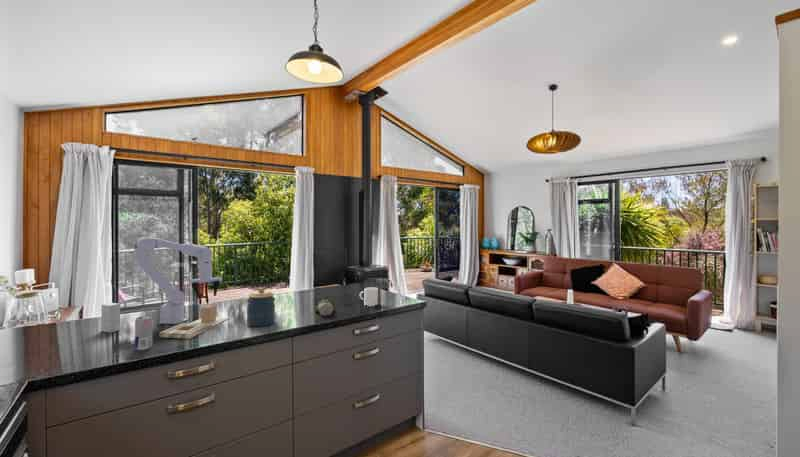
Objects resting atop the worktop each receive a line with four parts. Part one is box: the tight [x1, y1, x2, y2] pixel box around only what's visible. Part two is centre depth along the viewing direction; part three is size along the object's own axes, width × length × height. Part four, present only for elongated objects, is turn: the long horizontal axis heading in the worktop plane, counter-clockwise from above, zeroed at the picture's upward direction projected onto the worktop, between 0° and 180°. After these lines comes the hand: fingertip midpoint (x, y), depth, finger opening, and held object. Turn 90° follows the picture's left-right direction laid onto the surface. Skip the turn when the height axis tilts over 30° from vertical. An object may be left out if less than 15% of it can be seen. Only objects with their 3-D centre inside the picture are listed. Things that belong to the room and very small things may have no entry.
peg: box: [200, 305, 217, 323], centre depth 166 cm, size 4×4×7 cm
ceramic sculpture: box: [313, 297, 334, 317], centre depth 185 cm, size 11×9×15 cm
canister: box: [246, 287, 276, 328], centre depth 165 cm, size 13×13×18 cm
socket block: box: [158, 322, 212, 340], centre depth 151 cm, size 14×14×2 cm
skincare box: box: [100, 302, 121, 333], centre depth 151 cm, size 6×4×12 cm
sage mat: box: [191, 316, 230, 327], centre depth 167 cm, size 13×13×1 cm
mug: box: [358, 286, 379, 307], centre depth 204 cm, size 8×12×10 cm, turn 125°
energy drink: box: [134, 315, 153, 351], centre depth 132 cm, size 5×5×12 cm
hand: (206, 296), depth 176 cm, fingers open, 7 cm apart
